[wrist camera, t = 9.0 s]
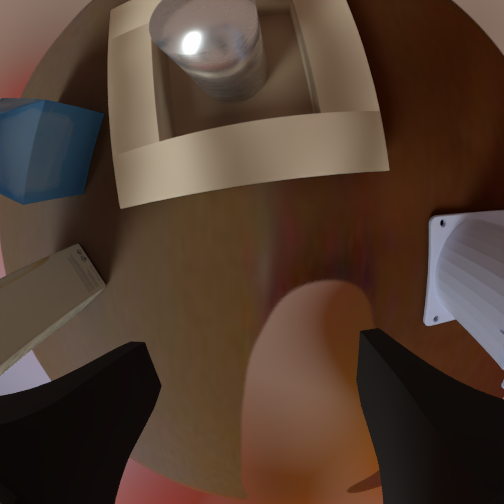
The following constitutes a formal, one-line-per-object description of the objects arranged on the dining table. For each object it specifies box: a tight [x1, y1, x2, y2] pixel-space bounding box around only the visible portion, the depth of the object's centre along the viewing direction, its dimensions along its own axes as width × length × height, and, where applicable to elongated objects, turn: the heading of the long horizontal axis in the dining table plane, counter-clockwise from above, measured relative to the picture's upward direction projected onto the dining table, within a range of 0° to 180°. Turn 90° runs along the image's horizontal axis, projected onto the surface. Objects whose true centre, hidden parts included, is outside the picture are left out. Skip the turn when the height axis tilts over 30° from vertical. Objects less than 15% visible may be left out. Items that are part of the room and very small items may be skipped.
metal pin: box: [149, 0, 268, 103], centre depth 10 cm, size 4×4×7 cm
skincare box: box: [0, 244, 106, 376], centre depth 14 cm, size 6×4×12 cm
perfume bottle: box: [0, 98, 104, 205], centre depth 11 cm, size 6×6×12 cm
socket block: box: [108, 0, 389, 209], centre depth 13 cm, size 14×14×4 cm
